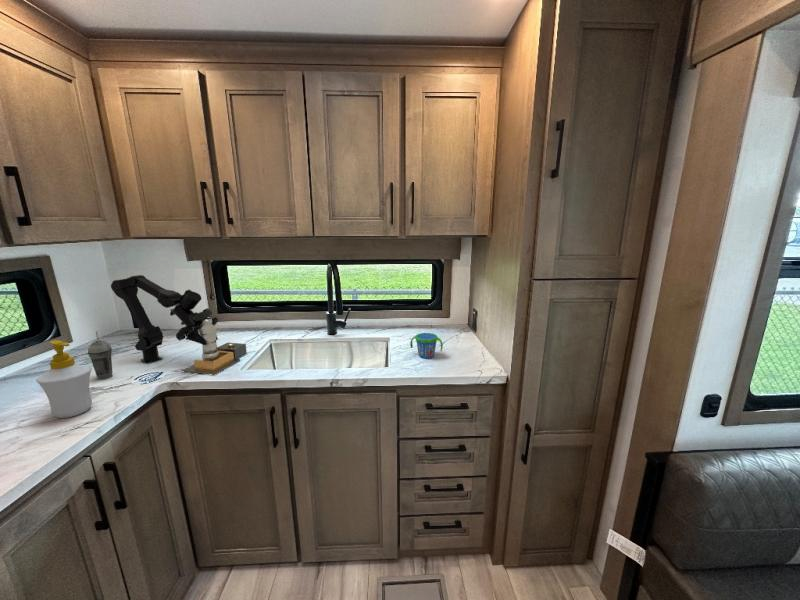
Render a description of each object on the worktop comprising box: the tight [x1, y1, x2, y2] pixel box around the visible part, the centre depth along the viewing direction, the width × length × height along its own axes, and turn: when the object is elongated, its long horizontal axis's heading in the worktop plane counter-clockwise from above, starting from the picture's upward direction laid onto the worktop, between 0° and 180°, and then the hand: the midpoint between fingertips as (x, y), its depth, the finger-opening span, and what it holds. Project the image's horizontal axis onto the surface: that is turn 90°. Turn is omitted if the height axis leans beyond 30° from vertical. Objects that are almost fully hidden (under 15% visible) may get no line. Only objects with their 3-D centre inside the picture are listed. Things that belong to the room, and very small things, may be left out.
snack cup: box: [409, 332, 444, 359], centre depth 157 cm, size 16×10×10 cm
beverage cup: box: [87, 330, 113, 381], centre depth 132 cm, size 7×7×20 cm
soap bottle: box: [35, 339, 93, 419], centre depth 106 cm, size 13×13×25 cm
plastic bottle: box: [198, 317, 220, 361], centre depth 143 cm, size 6×7×20 cm
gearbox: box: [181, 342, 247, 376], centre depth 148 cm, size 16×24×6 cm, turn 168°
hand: (211, 342), depth 142 cm, fingers closed on plastic bottle, 6 cm apart
